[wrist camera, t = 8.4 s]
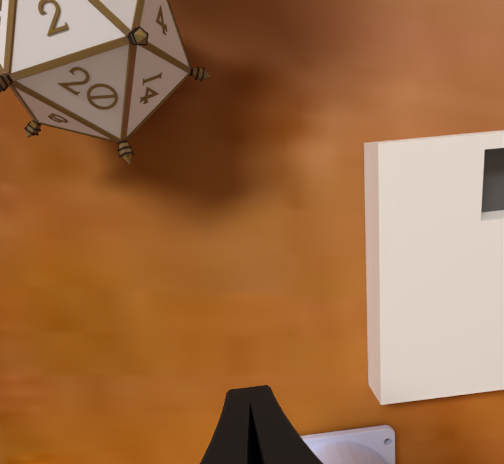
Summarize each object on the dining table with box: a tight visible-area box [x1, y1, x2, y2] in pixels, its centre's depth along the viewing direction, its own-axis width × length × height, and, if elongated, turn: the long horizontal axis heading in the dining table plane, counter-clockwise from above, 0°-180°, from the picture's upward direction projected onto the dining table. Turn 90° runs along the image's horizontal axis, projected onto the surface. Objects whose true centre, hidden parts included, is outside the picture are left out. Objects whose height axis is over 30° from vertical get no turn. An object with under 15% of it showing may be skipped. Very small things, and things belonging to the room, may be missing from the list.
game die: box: [0, 0, 211, 164], centre depth 15 cm, size 9×8×10 cm
